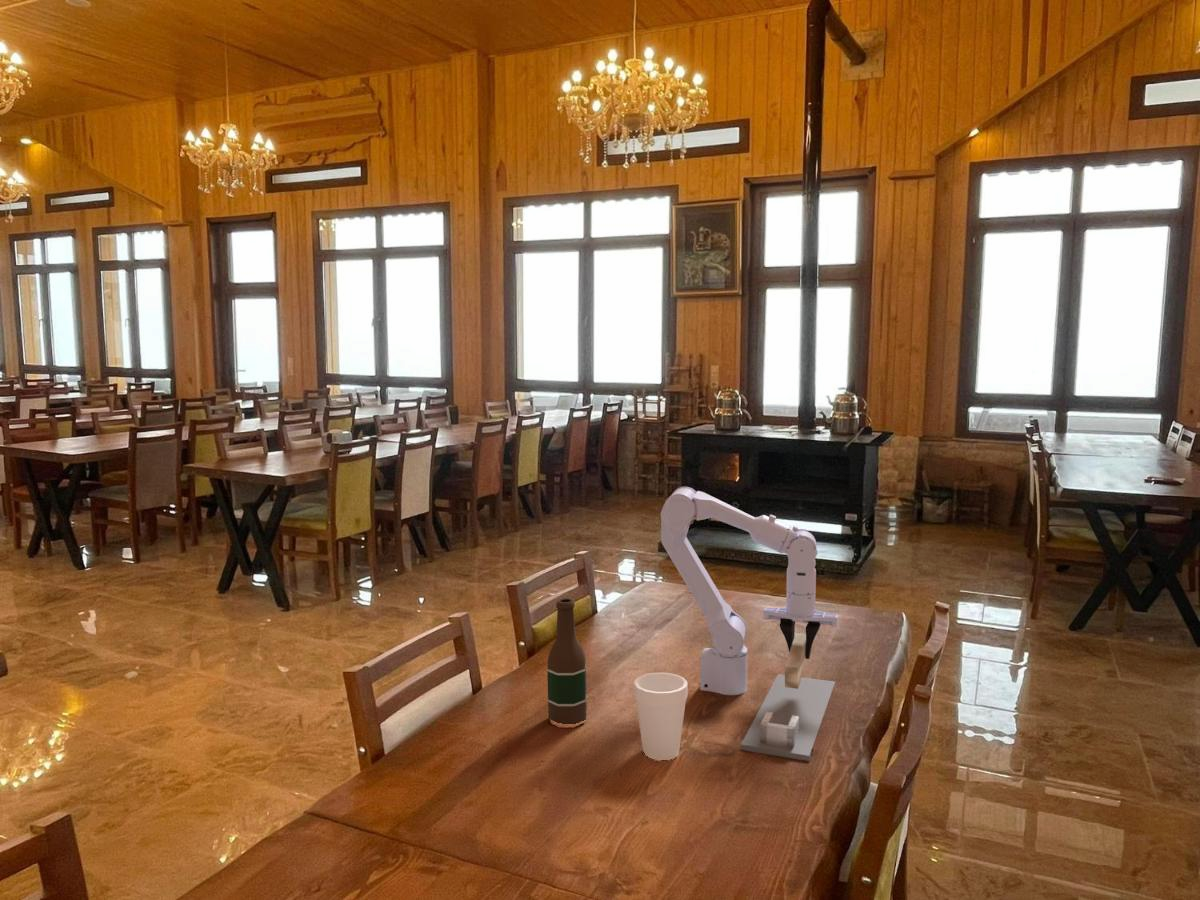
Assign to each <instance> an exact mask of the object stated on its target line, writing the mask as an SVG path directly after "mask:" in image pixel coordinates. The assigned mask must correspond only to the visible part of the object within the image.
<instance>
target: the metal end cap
mask: <svg viewBox="0 0 1200 900" xmlns="http://www.w3.org/2000/svg"><path fill="white" fill-rule="evenodd" d="M798 735H799V716H793V715H792V718H791V720H790V722H789V725H788V726H787V725H781V724H774V723H773V712H766V714H765V716H764V718H763V720H762V722H761V724H760V743H764V744H770V745H776V746H782V747H788V748H794V746H795V743H796V741H797V738H798Z"/></svg>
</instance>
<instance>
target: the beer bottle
mask: <svg viewBox="0 0 1200 900" xmlns="http://www.w3.org/2000/svg"><path fill="white" fill-rule="evenodd" d="M575 605H576V604H575V601H574V599H571V598H561V599H558V600H557V601H556V605H555V607H556V609H557V612H556V613H557V614H556V617H557V618H556V634H555V635H556V636H555V641H554V642H553V644H552V646H551V647H550V651H549V653H548V657H547V666H546V668H547V669H546V671H547V676H546V677H547V704H548V705H547V706H548V707H547V712H548V720H549V719H551V720H553V721H555V722H557V723H562V724H576V723H579V722H581V721H584V720H587V707H588V705H587V703H588V702H587V700H588V699H587V666H586V665H587V663H586V661H587V660H586V653H585V650H584V648H583V646H582V645H581V643H580V642H579V641H578V639H577V633H576V625H575V623H576V622H575V610H574V608H575Z"/></svg>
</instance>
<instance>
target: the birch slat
mask: <svg viewBox="0 0 1200 900" xmlns="http://www.w3.org/2000/svg"><path fill="white" fill-rule="evenodd" d="M805 651H806V633H800V632H795V633H794V640H793V643H792V646H791V649H790V652H789V651H788V655H787V658H786V661H785V664H784V675H785V687H788V688H795V689H798V688H799V684H800V681H801V677H803V673H804V670H805V666H806V664H807V660H808V659H805Z"/></svg>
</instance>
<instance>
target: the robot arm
mask: <svg viewBox="0 0 1200 900" xmlns="http://www.w3.org/2000/svg"><path fill="white" fill-rule="evenodd" d="M695 516H696V521H702V520H706V519H714V520H717V521H720V522H722V523H725V524H728V525H729V526H732V527H735V528H737V529H740V530H742V531H745V532H747V533H749V536H750V538H751V540H752V541H753V542H755V543H757V544H759V545H761V546H764V547H766V548H768V549H770V550H773V551H775V552H777V553H780V554H785V555H786V557H787V558H788V560H787V561H788V563H787V565H788V566H787V568H786V596H785V598H786V601H785V602H786V603H785V607H765V608H764V609H763V620H767V621H769V620H779V628H780V629H779V630H780V631H781V633H782V634H783V637H784V639H785V641H786V644H787V648H788V653H789V652H790V649H791V646H792V643H793V640H794V637H795V634H796V632H795V631H796V630H795V629H796V622H797V623H806V625H805V634H806V651H805V659H807V660H809V659H810V657H811V653H812V646H813V644H814V641H815V638H816V636H817V634H818V632H819V630H820V627H821V625H825V626H831V627H834V628H837V627H838V625H839V614H834V613H828V612H824V611H819V610H816V597H817V596H816V595H817V594H816V589H817V587H816V586H817V581H816V580H817V570H816V568H815V567H816V565H817V564H816V558H817V555H818V549H817V541H816V538H815V536H814V535H813V534H812V533H811V532H810V531H808V530H807V529H805V528H799V527H798V526H797V525H793V526H791V525H788V524H786V523H784V522H781V521H779V520H777V516H776V515H773V514H769V516H768V515H765V514H762V515H760V516H756V517H755V516H753V515H751V514H749V513H746V512H744V511H743V510H741V509H738V508H737V507H735V506H732V505H731V504H728V503H727V502H724V501H722V500H720V499H719V498H716V497H714V496H712V495H710V494H708V493H706V492H704V491H702V490H701V491H700V490H697V491H696V490H695V489H694V488H692V487H689V486H680V487H678V488H676V489H675V490H674V491H673V492H672V493H671V495H670V496H669V497H668V498H666V500H665V502H664V504H663V506H662V509H661V512H660V518H661V519H660V520H661V521H660V523H661V525H660V541H661V544H662V546H663V548H664V550H665V551H666V552H667V554H668V556H669V558H670V560H671V561H672V563H673V565H674V566H675V568H676V570H677V571H678V572H679V575H680V576H681V578H682V579H683V581H684V583H685V585H686V586H687V588H688V590H689V591H690V593H691V595H692V596H693V598H694V600H695V602H696V603H697V604H698V607H699V609H700V610H701V612H702V613H703V615H704V618H705V621H706V625H707V629H708V632H710V634H711V641H712V647H704V648H703V650H702V652H701V655H700V662H699V664H700V666H699V670H700V671H699V674H700V675H699V690H700V691H705V692H710V693H711V692H713V693H716V694H720V695H725V696H737V695H742V694H744V693H746V692H747V690H748V648H747V647H746V646H745V643H744V641H745V637H746V634H747V631H748V627H747V623H746V621H745V620H744V618H743V617H741V616H740V615H739V614H737V613H736V612H735V611H734V610H733V608H732V606H731V605H730V604H728V603H727V602H726V601H725V599H724V598H723V596H722V594H721V593H720V591H719V590H718V588H717V586H716V585H715V583H714V580H712V578H711V576H710V574H709V573H708V571H707V570H706V568H705V566H704V564H703V563H702V561H701V559H700V558H699V556H698V554H697V553H696V551H695V549H694V548H693V546H692V544H691V543H690V541H689V539H688V537H687V535H688V532H689V528H690V525H691V521H692V519H693V518H694V517H695ZM706 685H707V686H706Z"/></svg>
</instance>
